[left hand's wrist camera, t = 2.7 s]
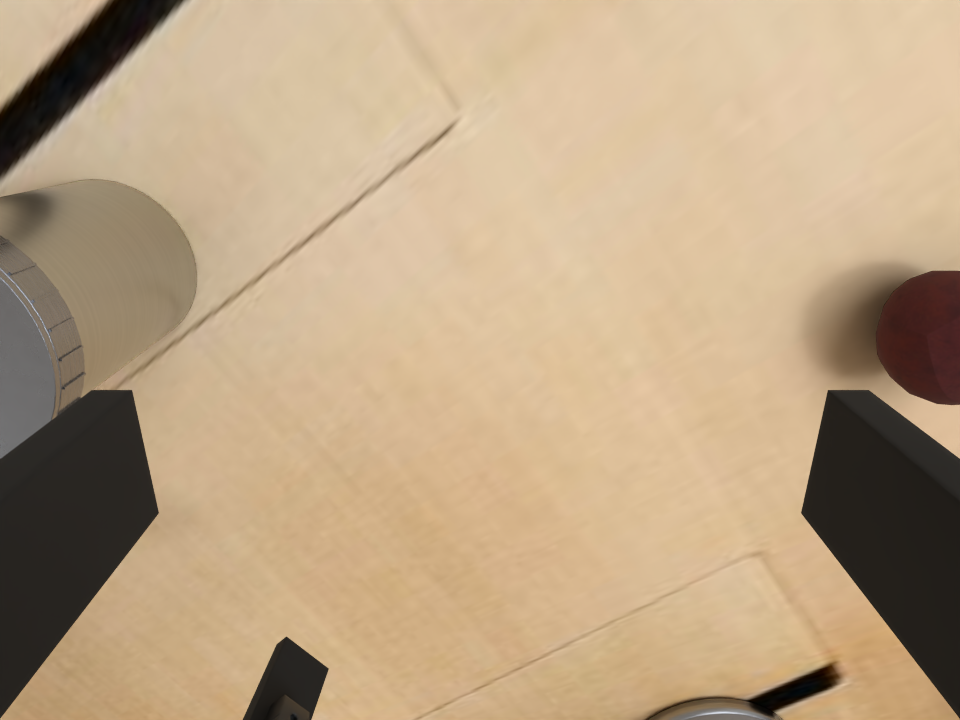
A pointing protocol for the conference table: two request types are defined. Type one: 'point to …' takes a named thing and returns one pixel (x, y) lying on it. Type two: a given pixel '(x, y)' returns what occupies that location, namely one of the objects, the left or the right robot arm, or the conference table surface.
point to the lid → (34, 349)
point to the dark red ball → (923, 336)
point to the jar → (106, 265)
